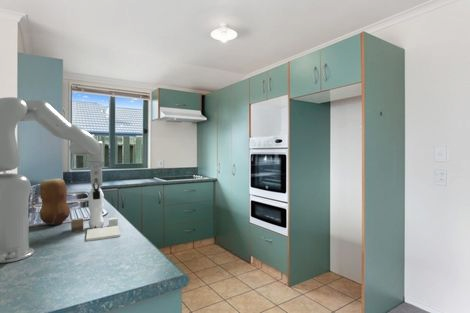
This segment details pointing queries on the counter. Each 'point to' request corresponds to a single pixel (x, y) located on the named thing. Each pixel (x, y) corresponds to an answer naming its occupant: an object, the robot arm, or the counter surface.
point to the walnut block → (77, 225)
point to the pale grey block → (113, 222)
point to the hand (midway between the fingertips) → (96, 197)
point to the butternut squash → (53, 201)
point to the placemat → (102, 233)
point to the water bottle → (96, 210)
